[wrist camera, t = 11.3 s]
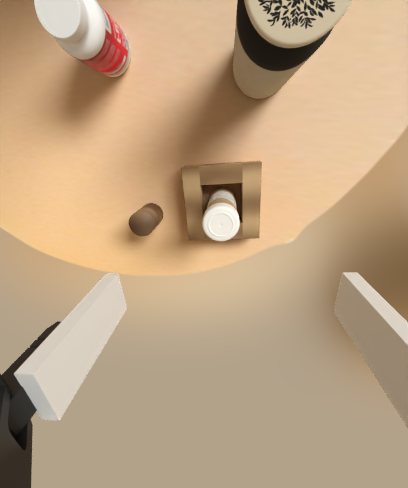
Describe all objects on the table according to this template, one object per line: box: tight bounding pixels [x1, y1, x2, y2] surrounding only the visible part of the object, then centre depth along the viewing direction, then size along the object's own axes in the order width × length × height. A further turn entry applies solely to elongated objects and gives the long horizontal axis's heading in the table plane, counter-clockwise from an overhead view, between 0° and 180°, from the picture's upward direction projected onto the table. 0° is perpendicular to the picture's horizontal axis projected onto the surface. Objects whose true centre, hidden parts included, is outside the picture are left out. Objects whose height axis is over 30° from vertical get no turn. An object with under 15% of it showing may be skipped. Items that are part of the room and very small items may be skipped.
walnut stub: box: [129, 203, 163, 236], centre depth 38 cm, size 4×4×6 cm
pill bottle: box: [34, 0, 131, 77], centre depth 26 cm, size 6×6×11 cm
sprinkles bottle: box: [202, 187, 240, 241], centre depth 32 cm, size 5×5×13 cm
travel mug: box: [233, 0, 352, 99], centre depth 22 cm, size 8×8×18 cm
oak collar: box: [181, 161, 262, 240], centre depth 37 cm, size 12×12×4 cm
